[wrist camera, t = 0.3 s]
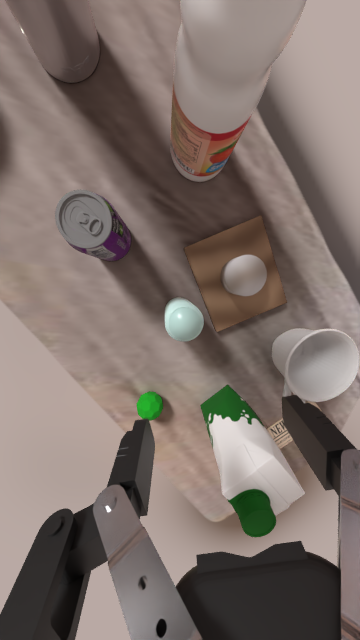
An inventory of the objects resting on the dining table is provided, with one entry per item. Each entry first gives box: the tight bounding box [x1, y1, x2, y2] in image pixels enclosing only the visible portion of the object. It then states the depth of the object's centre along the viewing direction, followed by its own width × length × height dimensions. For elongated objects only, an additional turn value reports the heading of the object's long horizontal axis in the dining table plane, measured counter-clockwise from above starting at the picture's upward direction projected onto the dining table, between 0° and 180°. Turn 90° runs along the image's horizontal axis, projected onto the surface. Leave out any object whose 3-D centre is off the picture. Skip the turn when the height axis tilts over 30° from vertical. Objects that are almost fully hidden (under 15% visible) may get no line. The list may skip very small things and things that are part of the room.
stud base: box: [184, 215, 287, 332], centre depth 35 cm, size 16×14×6 cm
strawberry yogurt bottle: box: [170, 0, 306, 182], centre depth 20 cm, size 9×9×28 cm
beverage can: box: [55, 190, 131, 261], centre depth 29 cm, size 7×7×12 cm
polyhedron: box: [137, 391, 163, 421], centre depth 39 cm, size 5×5×5 cm
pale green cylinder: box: [165, 297, 204, 341], centre depth 33 cm, size 5×5×11 cm
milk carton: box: [200, 385, 305, 537], centre depth 33 cm, size 9×9×20 cm
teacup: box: [272, 328, 359, 403], centre depth 37 cm, size 12×15×10 cm
